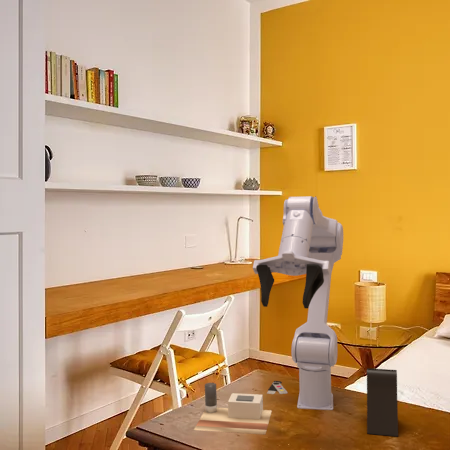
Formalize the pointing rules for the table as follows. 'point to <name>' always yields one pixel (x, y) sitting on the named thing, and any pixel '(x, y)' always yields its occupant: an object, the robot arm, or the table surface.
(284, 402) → the table surface
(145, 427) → the table surface
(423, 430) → the table surface
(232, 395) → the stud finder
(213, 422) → the panel
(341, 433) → the table surface
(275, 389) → the usb flash drive
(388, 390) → the phone stand
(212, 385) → the grey capped cylinder
